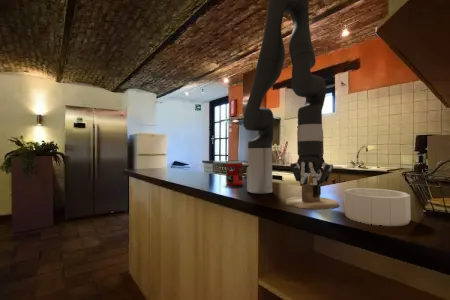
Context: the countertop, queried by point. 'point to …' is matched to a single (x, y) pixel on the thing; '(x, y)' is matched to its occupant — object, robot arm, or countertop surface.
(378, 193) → the cream bowl
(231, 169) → the canned food
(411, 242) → the countertop surface
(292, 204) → the oak lid
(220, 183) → the countertop surface
